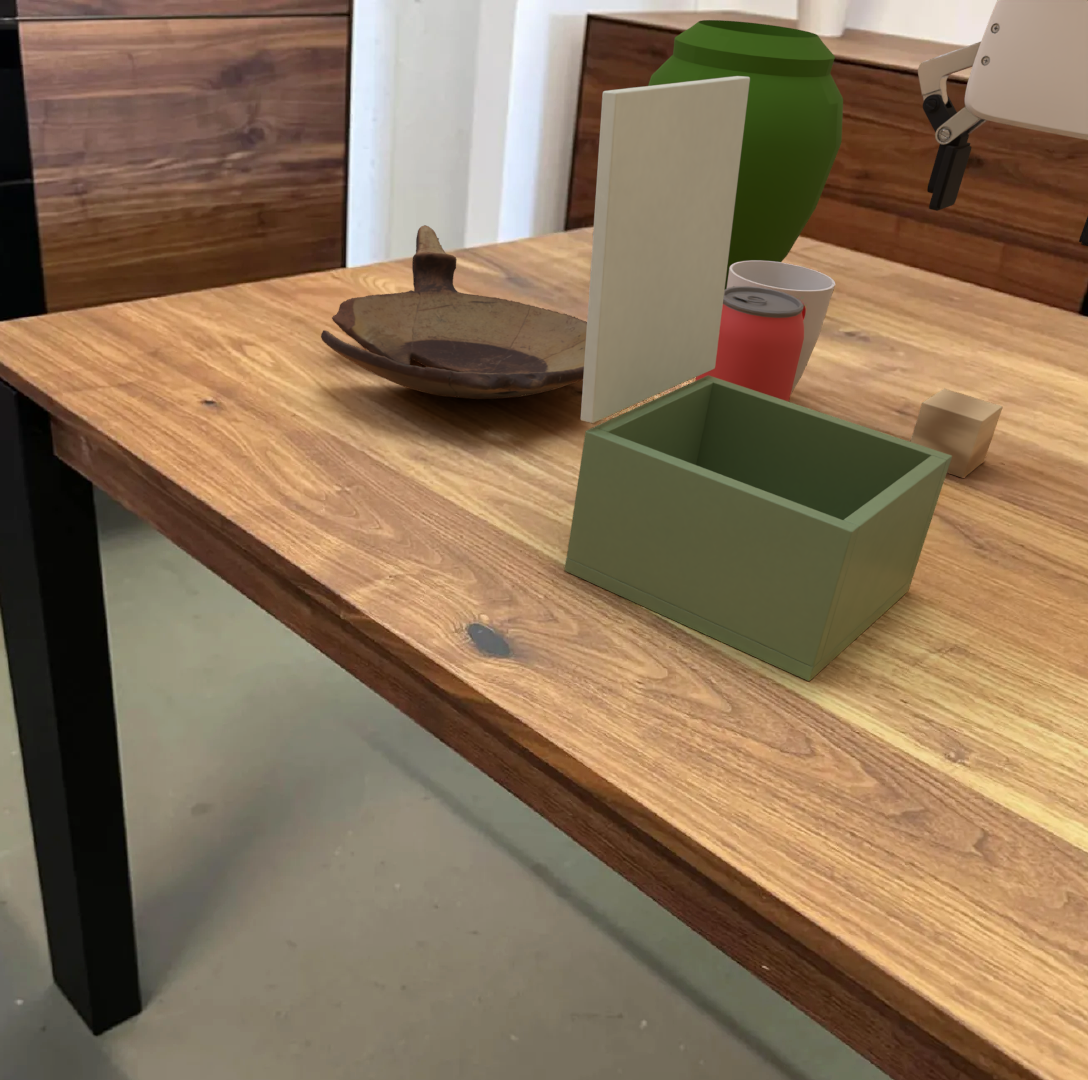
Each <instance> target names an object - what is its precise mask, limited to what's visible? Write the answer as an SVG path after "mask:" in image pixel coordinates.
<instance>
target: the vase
mask: <svg viewBox="0 0 1088 1080" xmlns="http://www.w3.org/2000/svg"><path fill="white" fill-rule="evenodd" d="M835 58H836V56H835V54H834V53H833V52H832V51H831V50H830V48H828V46H827V45H826V44H825V43H824V42H823V40H822V39H821V37H820V36H819V35H818V34H816V33H814V32H810V31H806V30H802V29H799V28H794V27H793V28H791V27H786V26H780V25H774V24H773V25H772V24H765V23H756V22H748V21H739V20H738V21H737V20H724V19H703V20H699V21H697V22H696V23H695V24H693V25H692V26H691V27H689V28H687V29H686V30H684V31H683V32H681V33H679V34H678V35H677V36H675V37H674V40H673V52H672V55H670V57H669V58H667V60H666V61H664V62H663V64H661V65H660V67H659V68H658V69H656V70H655V71H654V72H653V73H652V74H651V76H650V79H649V82H648V84H647V86H653V85H662V84H671V83H680V82H689V81H698V80H707V79H716V78H725V77H734V76H744V77H750V82H749V91H748V99H747V107H746V115H745V124H744V132H743V140H742V149H741V157H740V165H739V173H738V182H737V190H736V198H735V206H734V215H733V223H732V231H731V240H730V248H729V256H728V264H727V273H726V281H725V289H727V282H728V275H729V268H730V266H731V265H732V264H734V263H737V262H741V261H773V262H782V263H783V261H784V260H785V259H786V257H787V256H788V255H789V254H790V251H791V250H792V248H793V247H794V245H795V243H796V241H797V240H798V238H799V237H800V235H801V234H802V232H803V230H804V228H805V227H806V225H807V224H808V222H809V220H810V219H811V217H812V216H813V214H814V212H815V210H816V209H817V206H818V203H819V201H820V198H821V196H822V193H823V191H824V188H825V185H826V184H827V181H828V178H829V177H830V176H829V175H830V173H831V170H832V169H833V165H834V163H835V161H836V158H837V155H838V153H839V150H840V147H841V145H842V141H843V114H844V112H843V111H844V98H843V95H842V94H841V92H840V89H839V88H838V86H837V84H836V82H835V80H834V78H833V76H832V74H831V72H832V69H833V64H834V61H835ZM725 289H724V290H725Z"/></svg>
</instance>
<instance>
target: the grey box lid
mask: <svg viewBox="0 0 1088 1080" xmlns="http://www.w3.org/2000/svg"><path fill="white" fill-rule="evenodd" d="M749 82H750V77H744V76H734V77H725V78H716V79H707V80H698V81H689V82H680V83H671V84H662V85H653V86H648V85H646V86H637V87H636V86H635V87H627V88H619V89H609V90H604V91H602V98H601V111H600V128H599V130H600V131H599V139H598V140H599V141H598V142H599V143H598V154H597V155H598V157H597V172H596V186H595V200H594V215H593V228H592V229H593V232H592V245H591V258H590V261H591V262H590V273H589V289H588V290H589V291H588V303H587V304H588V305H587V319H586V322H587V332H586V347H585V362H584V376H583V380H582V392H581V393H582V394H581V408H580V421H582V422H585V423H589V424H595V423H597V422H599V421H601V420H603V419H605V418H608V417H610V416H612V415H614V414H617V413H619V412H621V411H624V410H626V409H628V408H630V407H632V406H635V405H637V404H640V403H641V402H643V401H646V400H648V399H650V398H653V397H655V396H657V395H659V394H662V393H664V392H666V391H668V390H670V389H673V388H675V387H677V386H679V385H681V384H684V383H687V382H688V381H690V380H692V379H696V377H697V376H699V375H702V374H704V373H706V372H708V371H711V370H713V369H715V364H716V356H717V347H718V339H719V331H720V322H721V314H722V306H723V298H724V289H725V281H726V273H727V264H728V256H729V248H730V240H731V231H732V223H733V215H734V206H735V198H736V190H737V182H738V173H739V165H740V157H741V149H742V140H743V132H744V124H745V115H746V107H747V99H748V91H749Z"/></svg>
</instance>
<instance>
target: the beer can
mask: <svg viewBox="0 0 1088 1080" xmlns="http://www.w3.org/2000/svg"><path fill="white" fill-rule="evenodd" d="M803 307H804V305H803V303H802V302H801V301H800V300H799V299H797V298H796V297H794V296H792V295H789V294H787V293H784V292H780V291H776V290H772V289H767V288H761V287H750V286H737V287H730V288H727V289H725V290H724V298H723V306H722V314H721V322H720V331H719V339H718V347H717V356H716V364H715V369H713V370H711V371H708V372H706V373H704V374H702V375H699V376H697V377H695V380H694V381H697V380H699V379H701V378H703V377H705V376H707V375H709V376H712V377H715V378H718V379H721V380H724V381H727V382H730V383H733V384H736V385H739V386H742V387H745V388H748V389H751V390H754V391H757V392H761V393H764V394H767V395H770V396H773V397H776V398H779V399H782V400H785V401H788V402H790V398H791V395H792V393H791V391H792V386H793V382H794V378H795V374H796V370H797V366H798V361H799V357H800V353H801V349H802V345H803V340H804V323H803V316H802V311H803Z"/></svg>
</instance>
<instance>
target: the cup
mask: <svg viewBox="0 0 1088 1080" xmlns="http://www.w3.org/2000/svg"><path fill="white" fill-rule="evenodd" d="M737 286H750V287H761V288H767V289H772V290H776V291H780V292H784V293H787V294H789V295H792V296H794V297H796V298H797V299H799V300H800V301H801V302H802V303H803V305H804V307H803V311H802V316H803V323H804V340H803V345H802V349H801V353H800V357H799V361H798V366H797V370H796V374H795V378H794V382H793V386H792V391H791V394H793V392H794V390H795V388H796V387H797V385H798V383H799V382H800V380H801V378H802V377H803V374H804V372H805V369H806V368H807V365H808V362H809V360H810V359H811V356H812V354H813V351H814V349H815V347H816V344H817V342H818V339H819V337H820V334H821V331H822V328H823V325H824V322H825V318H826V315H827V312H828V309H829V306H830V302H831V299H832V296H833V293H834V289H835V286H836V282H835V280H834V279H833V278H832V277H831V276H829V275H827V274H825V273H823V272H820V271H818V270H816V269H812V268H809V267H805V266H803V265H797V264H793V263H788V262H783V261H782V262H773V261H741V262H737V263H734V264H732V265H731V266H730V268H729V275H728V282H727V288H730V287H737Z"/></svg>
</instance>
